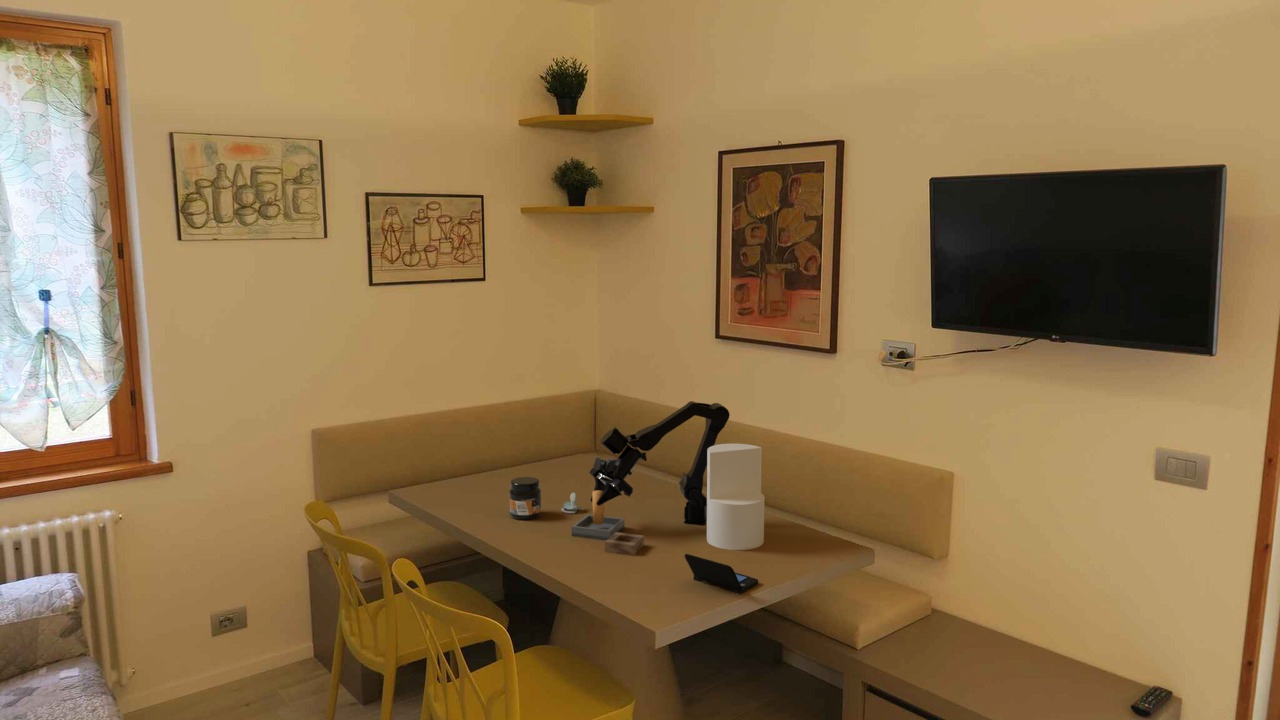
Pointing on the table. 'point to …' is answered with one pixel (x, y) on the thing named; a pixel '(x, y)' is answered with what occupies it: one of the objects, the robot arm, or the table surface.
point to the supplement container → (525, 498)
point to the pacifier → (573, 507)
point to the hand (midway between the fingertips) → (594, 503)
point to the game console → (719, 575)
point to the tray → (597, 528)
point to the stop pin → (597, 508)
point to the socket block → (624, 543)
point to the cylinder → (734, 497)
